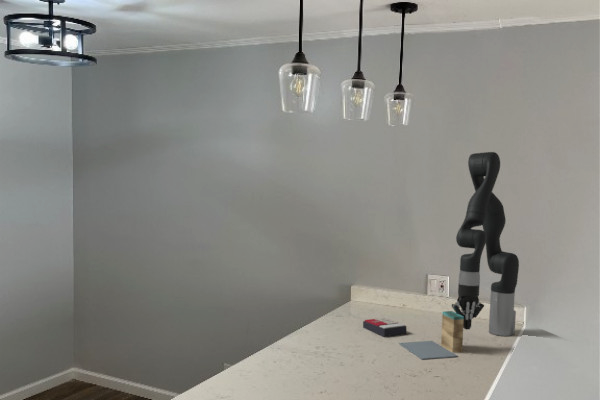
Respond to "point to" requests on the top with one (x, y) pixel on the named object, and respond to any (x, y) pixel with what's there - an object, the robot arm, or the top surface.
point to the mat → (427, 350)
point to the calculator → (385, 327)
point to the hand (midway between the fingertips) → (466, 328)
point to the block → (452, 331)
